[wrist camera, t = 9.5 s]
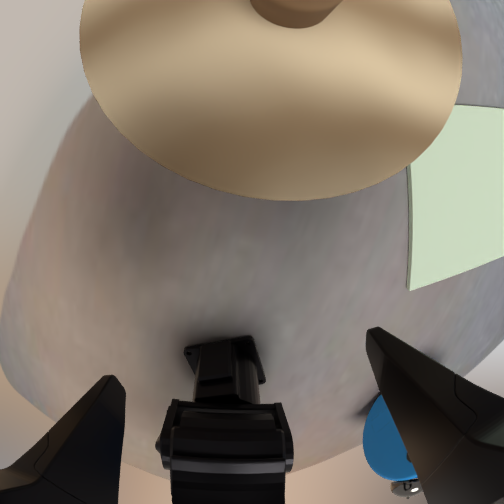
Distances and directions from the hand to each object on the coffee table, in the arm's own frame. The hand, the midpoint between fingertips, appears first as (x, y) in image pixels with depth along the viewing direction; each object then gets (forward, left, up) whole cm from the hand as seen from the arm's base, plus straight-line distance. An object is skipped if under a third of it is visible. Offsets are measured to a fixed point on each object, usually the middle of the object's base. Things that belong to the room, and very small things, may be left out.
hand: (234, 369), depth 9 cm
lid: (+12, -5, -5) cm, 14 cm away
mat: (-1, -22, -13) cm, 26 cm away
